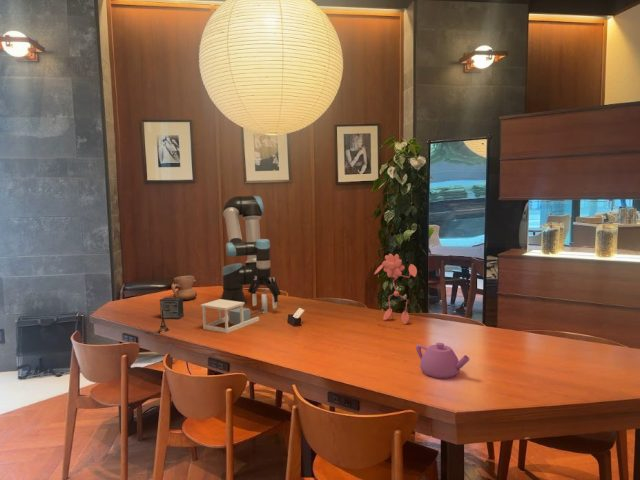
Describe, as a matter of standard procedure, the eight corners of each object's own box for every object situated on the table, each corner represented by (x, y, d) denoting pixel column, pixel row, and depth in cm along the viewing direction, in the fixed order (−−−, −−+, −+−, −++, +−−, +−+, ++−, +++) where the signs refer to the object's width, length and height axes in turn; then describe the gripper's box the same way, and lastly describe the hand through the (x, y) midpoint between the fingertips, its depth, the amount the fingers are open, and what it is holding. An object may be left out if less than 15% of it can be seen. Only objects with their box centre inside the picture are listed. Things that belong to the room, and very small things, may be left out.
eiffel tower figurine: (143, 333, 222) (141, 306, 220) (160, 328, 230) (159, 302, 229) (164, 338, 214) (162, 310, 212) (181, 332, 222) (180, 305, 221)
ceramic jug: (188, 295, 303) (187, 274, 302) (203, 297, 295) (202, 275, 293) (165, 301, 288) (163, 279, 287) (180, 304, 280) (179, 280, 279)
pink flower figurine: (381, 315, 244) (379, 250, 240) (423, 325, 226) (423, 254, 222) (362, 322, 233) (360, 253, 229) (405, 332, 215) (404, 258, 211)
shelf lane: (235, 319, 243) (234, 294, 242) (260, 322, 235) (259, 297, 234) (201, 331, 222) (200, 304, 221) (227, 335, 214) (226, 308, 213)
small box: (184, 316, 251) (183, 297, 250) (179, 319, 245) (178, 299, 244) (165, 315, 252) (164, 296, 251) (160, 319, 246) (159, 299, 245)
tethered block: (261, 310, 254) (260, 292, 253) (271, 312, 251) (271, 294, 250) (229, 322, 232) (228, 302, 231) (240, 324, 229) (239, 304, 228)
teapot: (461, 386, 154) (461, 355, 153) (407, 372, 167) (407, 343, 166) (476, 373, 165) (477, 344, 164) (424, 361, 178) (425, 334, 176)
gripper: (240, 267, 252) (242, 305, 254) (278, 270, 239) (279, 310, 241) (249, 265, 258) (250, 302, 261) (286, 268, 246) (287, 307, 248)
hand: (264, 306), depth 251 cm, fingers open, 13 cm apart
